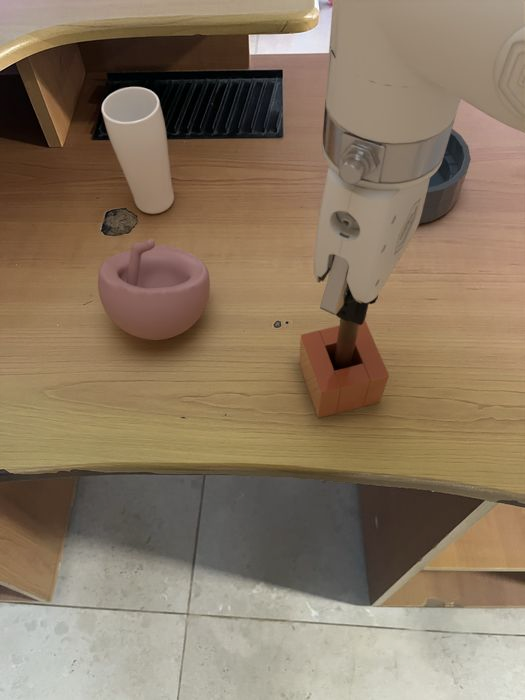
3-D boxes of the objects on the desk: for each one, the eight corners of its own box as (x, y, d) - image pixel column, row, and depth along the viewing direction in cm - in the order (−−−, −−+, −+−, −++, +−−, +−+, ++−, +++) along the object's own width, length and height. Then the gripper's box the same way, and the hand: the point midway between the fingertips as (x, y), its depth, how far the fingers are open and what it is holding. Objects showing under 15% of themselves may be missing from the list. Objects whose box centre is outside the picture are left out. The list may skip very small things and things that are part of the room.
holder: (358, 348, 65) (364, 318, 59) (380, 402, 61) (389, 375, 56) (298, 363, 64) (300, 334, 59) (318, 418, 60) (321, 392, 55)
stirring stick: (343, 373, 63) (367, 254, 46) (349, 387, 62) (375, 271, 45) (328, 377, 63) (345, 259, 46) (333, 391, 62) (353, 276, 45)
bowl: (431, 142, 82) (441, 105, 77) (476, 214, 75) (490, 178, 69) (334, 162, 80) (338, 126, 75) (370, 237, 73) (377, 203, 68)
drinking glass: (189, 205, 77) (170, 108, 64) (145, 227, 75) (117, 131, 62) (164, 177, 80) (142, 78, 67) (121, 197, 78) (90, 100, 65)
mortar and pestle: (225, 283, 70) (216, 217, 60) (200, 367, 64) (185, 308, 54) (132, 269, 71) (109, 202, 62) (99, 350, 65) (67, 290, 56)
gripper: (390, 238, 30) (352, 395, 46) (489, 75, 37) (426, 260, 52) (266, 189, 32) (271, 355, 48) (382, 44, 39) (352, 231, 55)
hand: (353, 305), depth 50 cm, fingers closed on stirring stick, 1 cm apart
